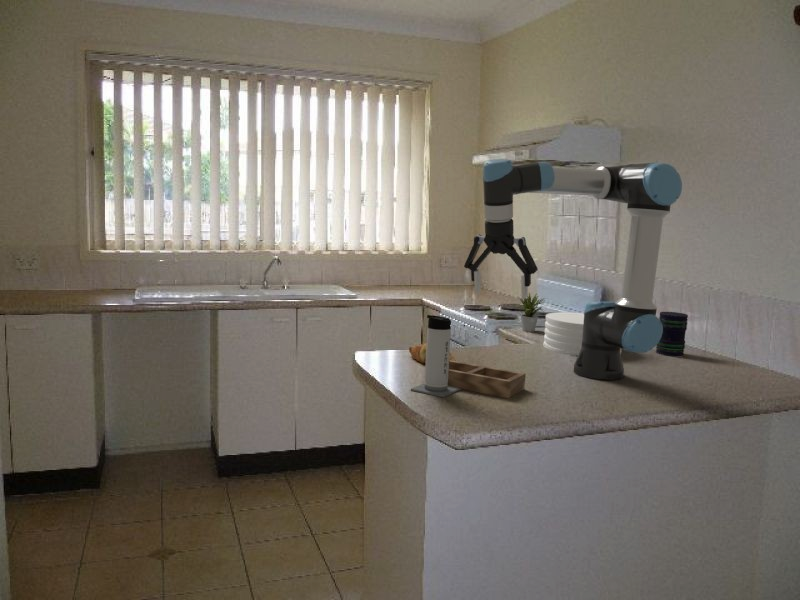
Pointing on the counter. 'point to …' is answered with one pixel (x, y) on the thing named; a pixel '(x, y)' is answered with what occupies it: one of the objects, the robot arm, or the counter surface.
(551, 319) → the plate stack
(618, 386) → the counter surface
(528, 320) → the house plant
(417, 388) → the mat
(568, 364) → the counter surface
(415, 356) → the croissant
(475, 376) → the wooden divided tray
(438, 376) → the travel mug
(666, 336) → the storage jar
